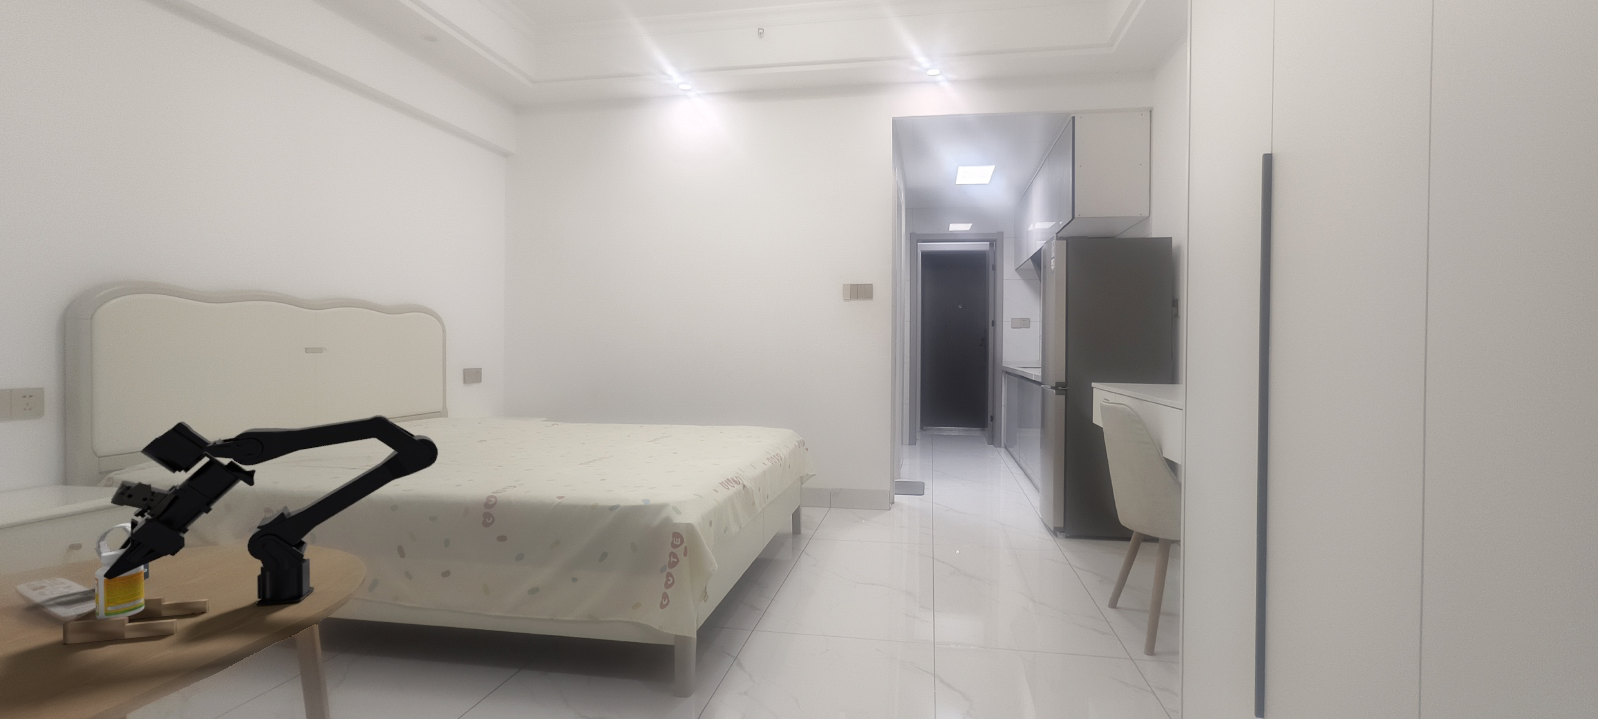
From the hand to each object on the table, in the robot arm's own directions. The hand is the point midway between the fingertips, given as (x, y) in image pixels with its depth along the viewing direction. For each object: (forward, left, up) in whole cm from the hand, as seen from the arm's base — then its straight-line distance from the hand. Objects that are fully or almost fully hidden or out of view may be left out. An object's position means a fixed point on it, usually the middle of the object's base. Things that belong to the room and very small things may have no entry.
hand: (106, 573), depth 105 cm
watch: (+12, -26, -9) cm, 30 cm away
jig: (-5, -1, -9) cm, 10 cm away
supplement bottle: (-1, -1, -7) cm, 7 cm away
